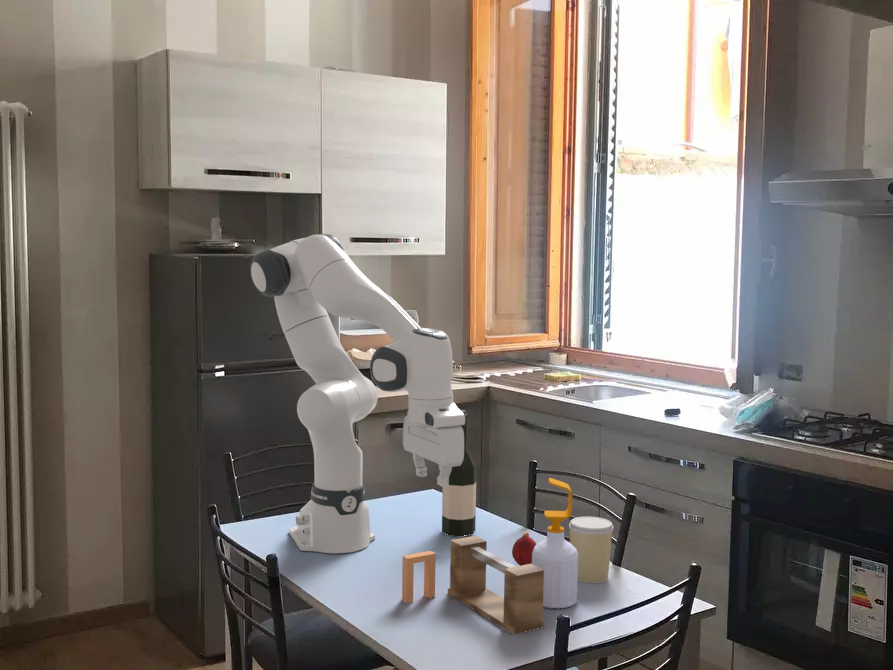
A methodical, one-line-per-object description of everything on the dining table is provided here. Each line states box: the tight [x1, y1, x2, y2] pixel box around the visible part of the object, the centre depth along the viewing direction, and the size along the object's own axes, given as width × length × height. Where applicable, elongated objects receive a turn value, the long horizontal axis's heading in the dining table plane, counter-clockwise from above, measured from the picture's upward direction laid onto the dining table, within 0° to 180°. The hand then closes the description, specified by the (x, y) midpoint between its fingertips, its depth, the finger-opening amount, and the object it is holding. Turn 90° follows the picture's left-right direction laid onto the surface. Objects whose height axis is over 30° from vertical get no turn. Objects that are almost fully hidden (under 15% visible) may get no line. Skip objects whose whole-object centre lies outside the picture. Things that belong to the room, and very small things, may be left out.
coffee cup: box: [568, 515, 614, 584], centre depth 202 cm, size 9×9×12 cm
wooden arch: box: [401, 550, 437, 604], centre depth 188 cm, size 2×6×9 cm, turn 121°
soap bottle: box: [532, 477, 578, 610], centre depth 187 cm, size 9×9×25 cm
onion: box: [511, 531, 538, 566], centre depth 207 cm, size 6×6×8 cm
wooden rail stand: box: [447, 535, 546, 635], centre depth 183 cm, size 23×7×11 cm, turn 31°
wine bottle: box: [441, 409, 478, 537], centre depth 231 cm, size 8×8×30 cm
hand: (432, 481), depth 187 cm, fingers open, 8 cm apart
